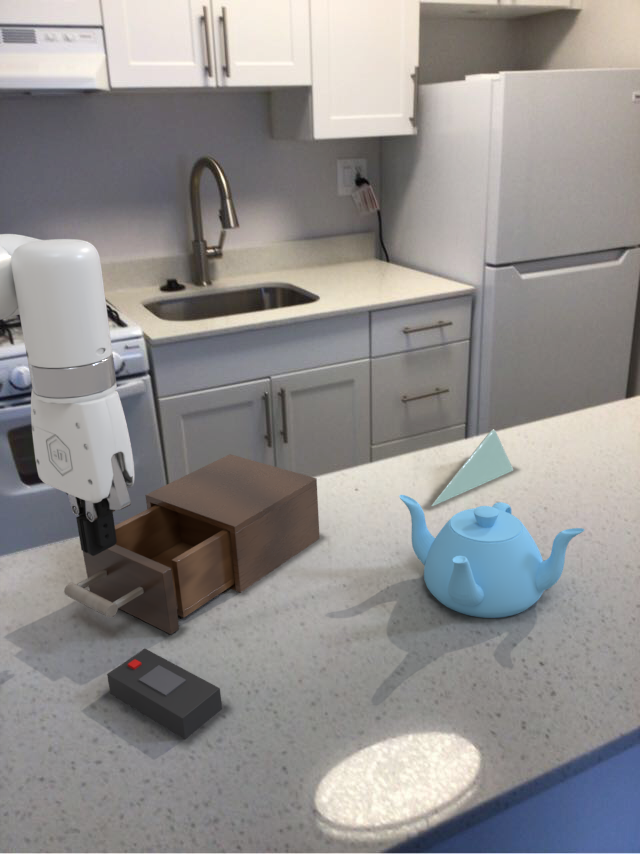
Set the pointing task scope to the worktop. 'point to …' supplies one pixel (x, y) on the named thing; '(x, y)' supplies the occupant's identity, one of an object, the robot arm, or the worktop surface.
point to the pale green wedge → (479, 468)
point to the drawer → (158, 568)
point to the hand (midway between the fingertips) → (99, 547)
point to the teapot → (485, 560)
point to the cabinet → (249, 511)
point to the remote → (165, 692)
